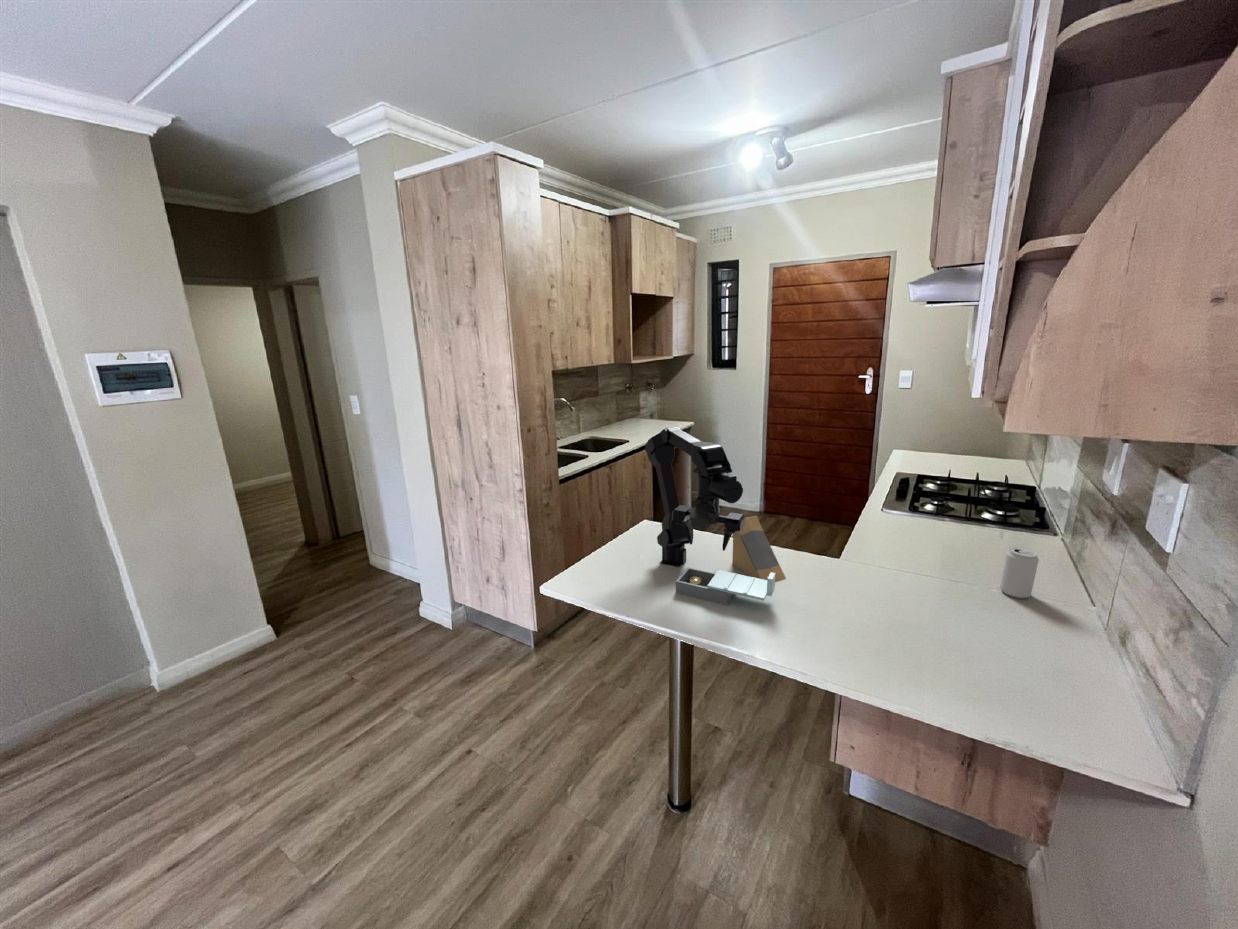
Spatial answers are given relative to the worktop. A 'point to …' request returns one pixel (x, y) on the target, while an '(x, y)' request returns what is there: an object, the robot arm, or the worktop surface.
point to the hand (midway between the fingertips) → (707, 547)
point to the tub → (701, 587)
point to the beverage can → (1019, 572)
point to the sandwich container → (755, 552)
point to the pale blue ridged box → (743, 585)
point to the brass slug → (695, 580)
